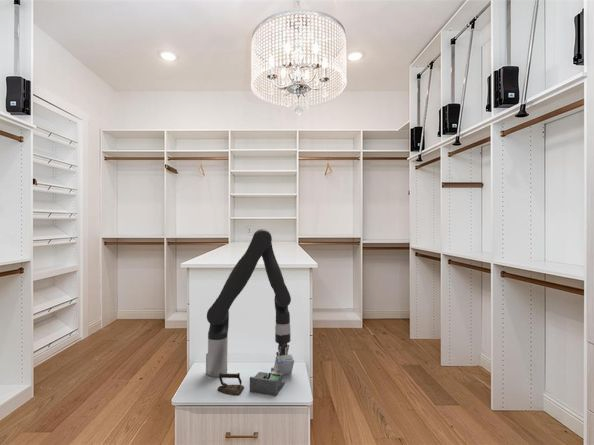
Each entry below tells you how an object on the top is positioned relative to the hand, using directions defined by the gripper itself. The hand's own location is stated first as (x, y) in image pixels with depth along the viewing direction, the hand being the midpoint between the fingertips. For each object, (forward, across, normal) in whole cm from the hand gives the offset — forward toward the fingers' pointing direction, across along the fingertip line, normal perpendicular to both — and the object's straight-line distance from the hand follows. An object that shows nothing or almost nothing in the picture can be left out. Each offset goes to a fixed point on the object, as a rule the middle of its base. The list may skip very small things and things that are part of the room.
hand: (283, 367), depth 164 cm
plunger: (0, +14, +1) cm, 14 cm away
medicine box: (+1, +3, +1) cm, 4 cm away
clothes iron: (+2, +26, -15) cm, 31 cm away
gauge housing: (+1, +20, 0) cm, 20 cm away
